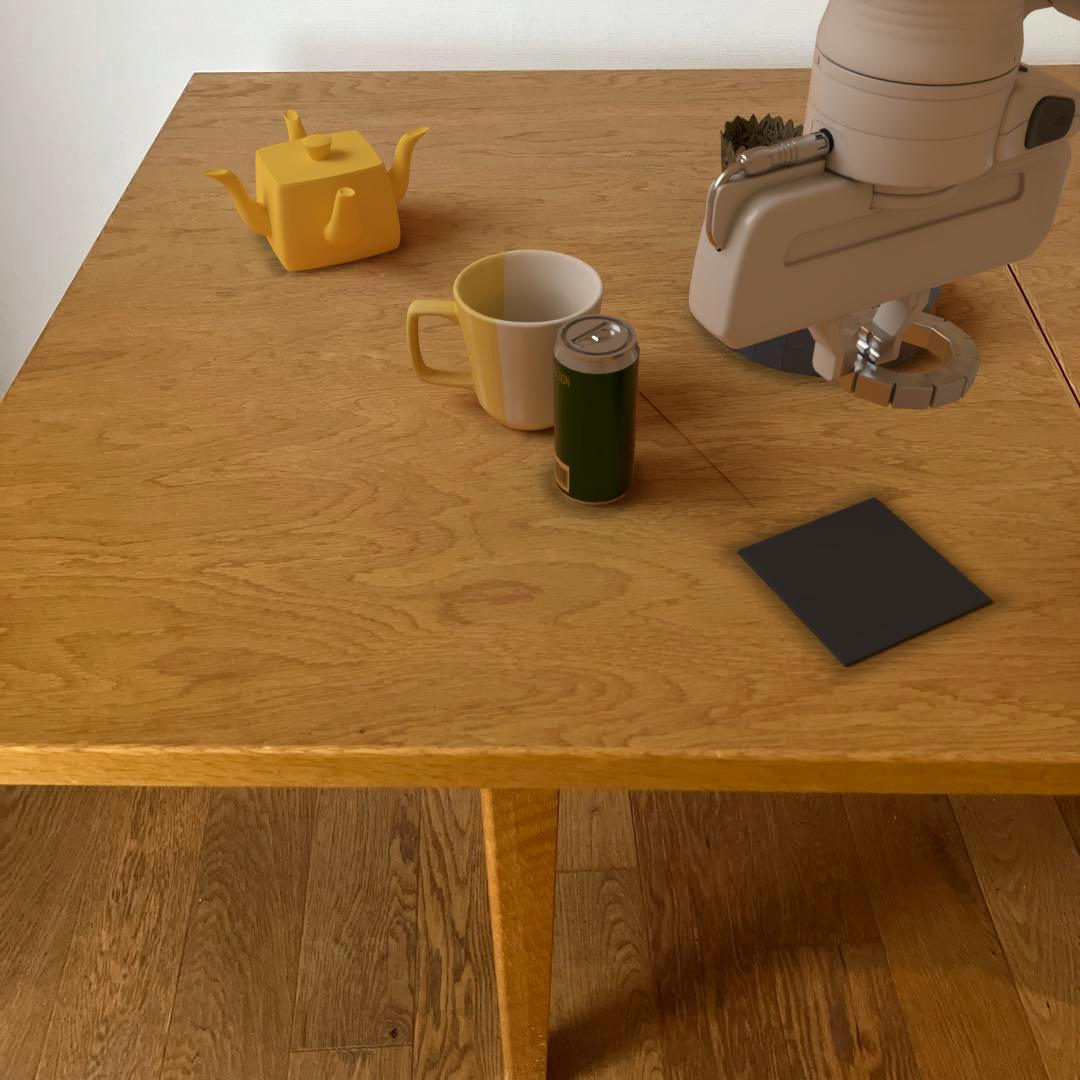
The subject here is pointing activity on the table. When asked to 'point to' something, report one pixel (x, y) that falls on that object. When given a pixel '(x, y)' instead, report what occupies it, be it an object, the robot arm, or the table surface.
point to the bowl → (799, 347)
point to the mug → (510, 329)
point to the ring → (915, 386)
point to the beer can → (595, 408)
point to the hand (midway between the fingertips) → (854, 365)
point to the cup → (753, 136)
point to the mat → (862, 580)
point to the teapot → (324, 196)
